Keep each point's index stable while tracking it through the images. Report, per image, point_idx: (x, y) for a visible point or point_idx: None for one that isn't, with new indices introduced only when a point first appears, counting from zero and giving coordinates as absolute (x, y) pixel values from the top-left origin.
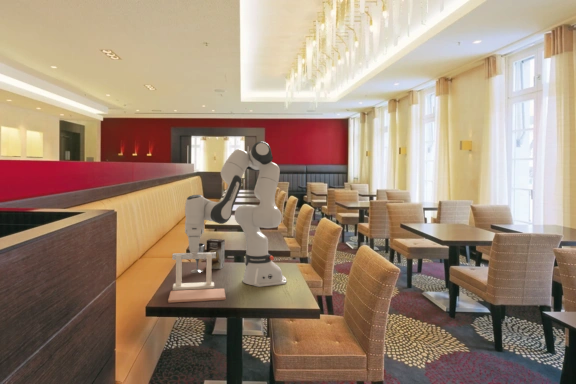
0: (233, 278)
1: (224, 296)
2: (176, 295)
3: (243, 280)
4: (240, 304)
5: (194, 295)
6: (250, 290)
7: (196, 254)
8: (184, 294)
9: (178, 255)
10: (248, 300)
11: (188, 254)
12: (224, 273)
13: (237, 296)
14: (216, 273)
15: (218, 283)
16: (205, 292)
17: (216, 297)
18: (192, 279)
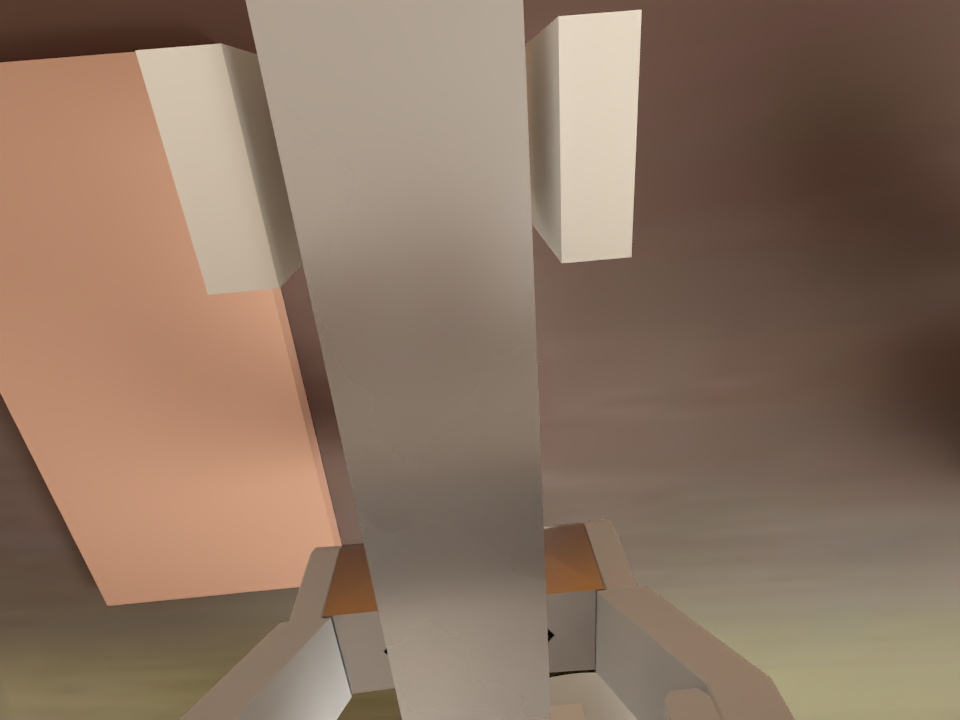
0: (679, 609)
1: (126, 598)
2: (49, 158)
3: (555, 690)
4: (37, 677)
5: (97, 361)
6: (356, 716)
7: (404, 692)
8: (106, 251)
9: (240, 167)
10: (134, 712)
11: (361, 521)
12: (859, 538)
13: (209, 654)
14: (887, 474)
15: (553, 513)
16: (210, 450)
17: (85, 547)
18: (744, 254)
